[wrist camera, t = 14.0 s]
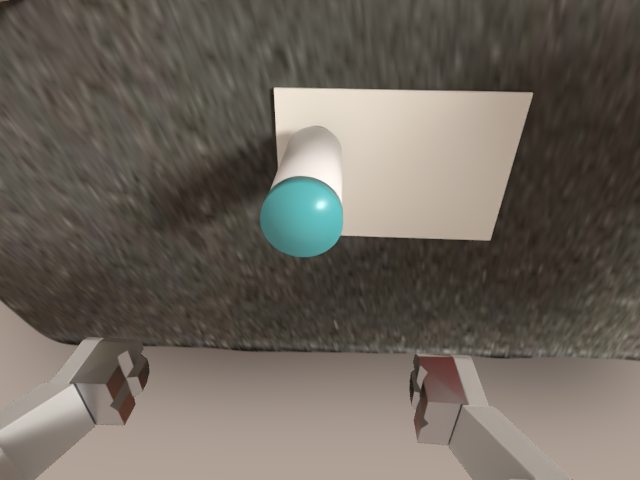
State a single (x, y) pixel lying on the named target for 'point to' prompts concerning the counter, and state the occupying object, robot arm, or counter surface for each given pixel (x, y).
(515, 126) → the paper
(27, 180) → the counter surface
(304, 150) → the marker
